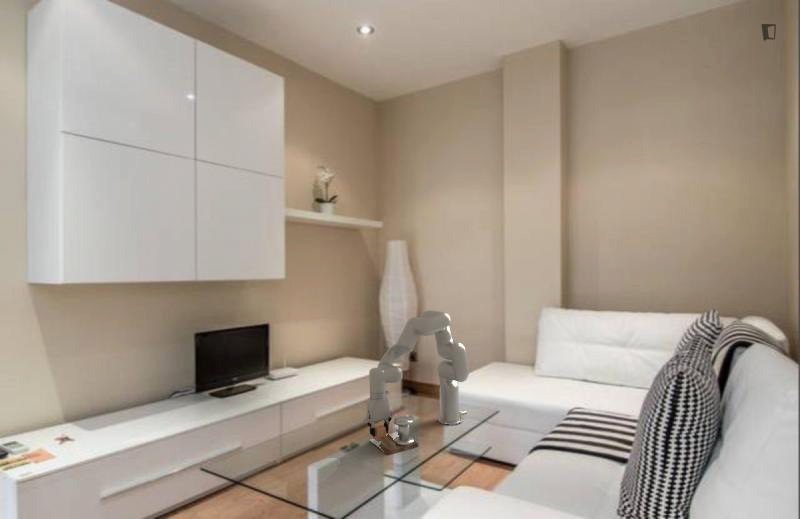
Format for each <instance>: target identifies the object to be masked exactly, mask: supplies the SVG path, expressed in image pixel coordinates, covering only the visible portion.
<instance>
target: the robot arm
mask: <svg viewBox="0 0 800 519" xmlns="http://www.w3.org/2000/svg"><path fill="white" fill-rule="evenodd" d="M451 321H452V320H451V316H450V315H449V314H448V312H444V311H437V310H425V311H423V312H422V313H421V317H420V316H419V317H417V316H413V317H411V318H409V319H408V320H407V322H406V324H405V326H404V328H403V330H402V332H401V334H400V336H399V337H398V339H397V341H396V343H395V344H393V345H392V346H391V347H390V348H389V349H387V350H386V352H385V353H384V354H383V356H382V357H381V358H380V360H379V363H378V364H377V367H372V368H371V369H370V370H369V373H368V375H369V398H368V400H367V406H366V416H365V417H364V418H363V420H362V422H363V423H365V425H367V426H368V427H369V434H370V436H371V437H372V436H373V437H374V436H375V428H374V426H375V423H376V422H380V421H383V426H384V427H386V434H387V433H389V426H390V422H391V421H392V420H393V419H394V416H395V414H394V412H392V411H391V409H390V403H389V402H390V401H389V399H388V398H389V397H388V396H387V395H389V394H390V393H389V392H390V391H389V390H387V384H394V383H398V382H399V381H401V380H402V378H403V374H404V373H403V370H402V368H400V367H399V366H397V365H394V363H395V362H396V360H398V359H399V358H400V357H401V356H404V355H407V354H409V353H411V352H413V351H414V348H415V346H416V344H417V342H418V340H419V338H420V336H423V337H428V336H432V335H434V338H435V343H436V350H437V355H438V356H439V357H440V358H442V359H443V360H441V361H440V362H439V363H438V365H437V375H438V378H439V379H438V380H439V388H440V392H439V394H440V416H439V417H438V419H437V420H438V423H440V424H442V425H445V423H447V424H449V425H448V426H456V425H460V424H461V423H462V422H463V416H465V415H467V414H468V412H467V411H466V410H460V394H459V393H460V392H459V390H460V388H459V383H464V382H465V381H467V379H468V377H469V375H470V367H469V362H468V361H469V360H468V355H467V350H466V346H464V345H463V344H462V343H461V342H458V341H454V340H453V335H452V332H451V328H450V324H451ZM368 420H369V421H368ZM459 423H460V424H459Z"/></svg>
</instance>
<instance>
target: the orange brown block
mask: <svg viewBox="0 0 800 519" xmlns="http://www.w3.org/2000/svg"><path fill="white" fill-rule="evenodd" d="M374 428H375V436H374V437H373V439H375V440H376V441H378V442H379V441H381V440H380V438H381V437H386V434H387V433H386V427H384V425H382V424H378V425H374Z"/></svg>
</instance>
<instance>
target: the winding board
mask: <svg viewBox="0 0 800 519" xmlns="http://www.w3.org/2000/svg"><path fill="white" fill-rule="evenodd" d="M371 437H373V436H372V435H371ZM380 440H381V444H380V445H379V446H380V447H381V449H382V450H383V451H384V452H383V451H382V452H383V453H384V454H385V455H387V456H389V455H393V454H396V453H400V452H402V451H406V450H410V449H414V448H417V447H419V442H418V441H415V440H414V443H413V444H411V445H407V446H400V445H396V444H395V443H394V440H393V438H392V437H391V436H390V435H389V434H388V435H387V436H386V437H381V438H380Z"/></svg>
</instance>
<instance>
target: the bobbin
mask: <svg viewBox="0 0 800 519" xmlns="http://www.w3.org/2000/svg"><path fill="white" fill-rule="evenodd" d="M413 423H414V418H413V417H412V416H405V415H404V416H398V417H395V418H393V424H394V425H396V426H397V428H398V430H397V431H398V435H399V437H396V438H395V439H394V443H395V444H396V445H400V446H407V445H411V444H413V443H414V441H415V438H414V437H413V436H411V435H410V425H412V424H413Z"/></svg>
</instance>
